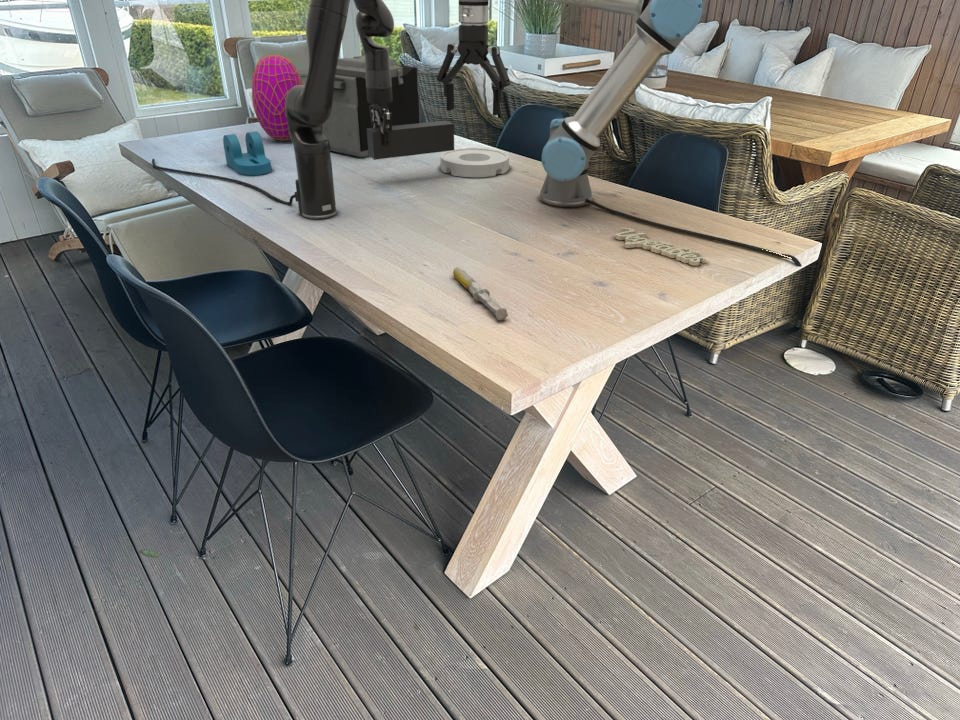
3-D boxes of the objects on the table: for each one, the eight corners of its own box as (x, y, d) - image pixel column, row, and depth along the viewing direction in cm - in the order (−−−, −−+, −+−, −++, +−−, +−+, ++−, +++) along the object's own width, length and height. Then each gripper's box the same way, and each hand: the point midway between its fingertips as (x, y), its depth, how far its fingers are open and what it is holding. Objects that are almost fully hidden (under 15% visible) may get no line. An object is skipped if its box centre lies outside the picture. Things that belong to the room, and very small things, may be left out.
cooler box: (383, 133, 276) (378, 52, 261) (425, 141, 265) (422, 56, 250) (314, 150, 251) (304, 61, 235) (358, 160, 240) (350, 67, 224)
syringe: (449, 274, 155) (449, 263, 153) (465, 272, 156) (464, 260, 154) (490, 323, 135) (491, 310, 133) (508, 319, 136) (508, 307, 134)
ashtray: (443, 158, 243) (443, 147, 241) (508, 159, 242) (508, 148, 240) (437, 176, 223) (437, 164, 221) (508, 178, 222) (509, 165, 220)
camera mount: (227, 164, 233) (221, 132, 227) (257, 160, 238) (252, 129, 233) (244, 176, 220) (239, 143, 215) (276, 172, 225) (271, 139, 220)
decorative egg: (293, 132, 276) (283, 50, 261) (319, 140, 264) (310, 56, 249) (249, 139, 265) (236, 54, 250) (273, 148, 253) (261, 60, 238)
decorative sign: (601, 235, 175) (625, 226, 181) (600, 238, 175) (625, 230, 181) (689, 266, 158) (713, 255, 164) (689, 269, 158) (713, 259, 164)
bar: (447, 146, 223) (446, 120, 219) (454, 150, 219) (453, 123, 214) (368, 155, 213) (366, 128, 208) (374, 159, 208) (372, 132, 204)
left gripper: (358, 82, 206) (363, 140, 214) (374, 89, 194) (378, 150, 203) (382, 80, 208) (386, 137, 217) (399, 88, 197) (402, 147, 206)
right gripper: (422, 22, 174) (425, 110, 185) (513, 27, 165) (510, 119, 176) (436, 20, 180) (438, 105, 191) (524, 25, 171) (521, 114, 182)
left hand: (382, 143), depth 210 cm, fingers closed on bar, 5 cm apart
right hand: (472, 112), depth 183 cm, fingers open, 13 cm apart
